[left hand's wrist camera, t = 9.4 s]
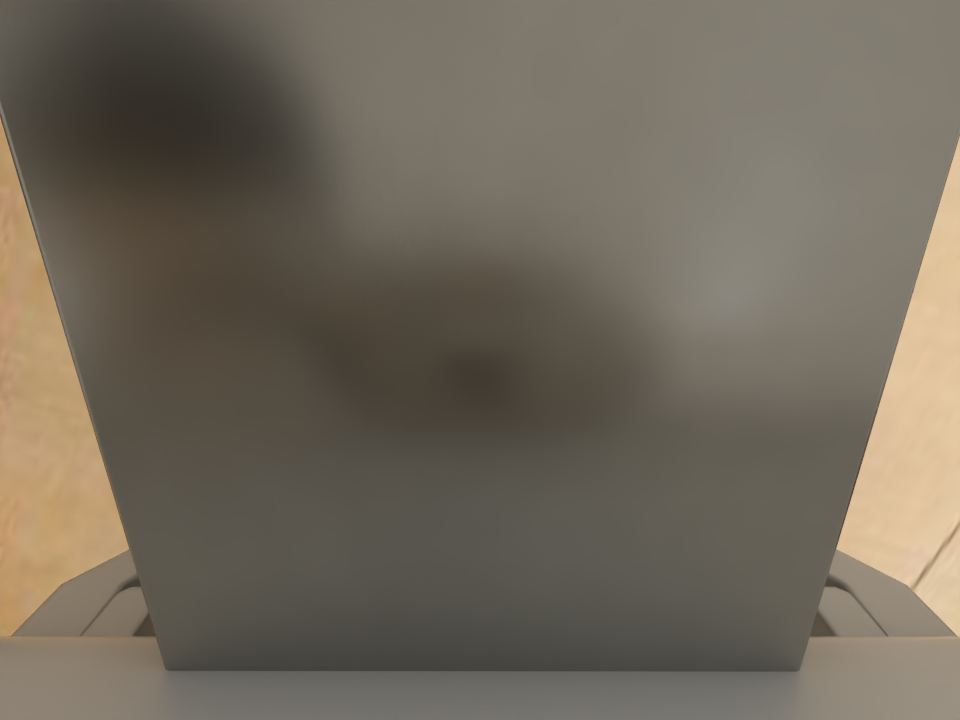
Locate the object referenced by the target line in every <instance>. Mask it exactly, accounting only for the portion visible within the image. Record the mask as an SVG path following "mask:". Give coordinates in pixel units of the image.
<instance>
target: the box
mask: <svg viewBox="0 0 960 720" xmlns="http://www.w3.org/2000/svg"><path fill="white" fill-rule="evenodd" d="M0 118H1V121H2V125H3V128H4V131H5V135H6V138H7V141H8V145H9V148H10V151H11V155H12V158H13V161H14V165H15V168H16V171H17V175H18V178H19V181H20V185H21V188H22V191H23V195H24V198H25V201H26V205H27V208H28V211H29V215H30V218H31V221H32V225H33V228H34V231H35V235H36V238H37V241H38V245H39V248H40V251H41V255H42V258H43V262H44V265H45V268H46V272H47V275H48V278H49V282H50V285H51V288H52V292H53V295H54V298H55V302H56V305H57V308H58V312H59V315H60V318H61V322H62V325H63V328H64V332H65V335H66V338H67V342H68V345H69V348H70V352H71V355H72V358H73V362H74V365H75V368H76V372H77V375H78V378H79V382H80V385H81V388H82V392H83V395H84V399H85V402H86V405H87V409H88V412H89V415H90V419H91V422H92V425H93V429H94V432H95V435H96V439H97V442H98V445H99V449H100V452H101V455H102V459H103V462H104V465H105V469H106V472H107V475H108V479H109V482H110V485H111V489H112V492H113V495H114V499H115V502H116V505H117V509H118V512H119V515H120V519H121V522H122V525H123V529H124V532H125V535H126V539H127V542H128V546H129V549H130V552H131V556H132V559H133V562H134V566H135V569H136V572H137V576H138V579H139V582H140V586H141V589H142V592H143V596H144V599H145V602H146V606H147V609H148V612H149V616H150V619H151V622H152V626H153V629H154V632H155V636H156V639H157V642H158V646H159V649H160V652H161V656H162V659H163V662H164V666H165V669H166V670H168V671H685V672H796V671H799V670H800V667H801V664H802V661H803V657H804V654H805V651H806V647H807V644H808V641H809V637H810V634H811V631H812V627H813V624H814V621H815V617H816V614H817V611H818V607H819V604H820V601H821V597H822V594H823V591H824V587H825V584H826V580H827V577H828V574H829V570H830V567H831V564H832V560H833V557H834V554H835V550H836V547H837V544H838V540H839V537H840V534H841V530H842V527H843V524H844V520H845V517H846V514H847V510H848V507H849V504H850V500H851V497H852V494H853V490H854V487H855V484H856V480H857V477H858V474H859V470H860V467H861V464H862V460H863V457H864V454H865V450H866V447H867V444H868V440H869V437H870V434H871V430H872V427H873V424H874V420H875V417H876V414H877V410H878V407H879V404H880V400H881V397H882V394H883V390H884V387H885V384H886V380H887V377H888V374H889V370H890V367H891V364H892V360H893V357H894V354H895V350H896V347H897V344H898V340H899V337H900V333H901V330H902V327H903V323H904V320H905V317H906V313H907V310H908V307H909V303H910V300H911V297H912V293H913V290H914V287H915V283H916V280H917V277H918V273H919V270H920V267H921V263H922V260H923V257H924V253H925V250H926V247H927V243H928V240H929V237H930V233H931V230H932V227H933V223H934V220H935V217H936V213H937V210H938V207H939V203H940V200H941V197H942V193H943V190H944V187H945V183H946V180H947V177H948V173H949V170H950V167H951V163H952V160H953V157H954V153H955V150H956V147H957V143H958V140H959V137H960V0H0Z"/></svg>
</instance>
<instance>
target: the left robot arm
mask: <svg viewBox="0 0 960 720" xmlns="http://www.w3.org/2000/svg"><path fill="white" fill-rule="evenodd" d="M0 720H960V637H958V636H957V635H956V634H955V633H954V632H953V631H952V630H951V629H950V628H949V627H948V626H947V625H946V624H945V623H944V622H943V621H942V620H941V619H940V618H939V617H938V616H937V615H936V614H935V613H934V612H933V611H932V610H931V609H930V608H929V607H928V606H927V605H926V604H925V603H924V602H923V601H922V600H921V599H920V598H919V597H918V596H917V595H916V594H915V593H914V592H913V591H912V590H911V589H910V588H909V587H908V586H907V585H905V584H903V583H901V582H900V581H898V580H896V579H894V578H892V577H890V576H888V575H886V574H884V573H882V572H880V571H878V570H876V569H874V568H872V567H870V566H868V565H866V564H864V563H862V562H860V561H858V560H856V559H854V558H852V557H850V556H848V555H847V554H845V553H843V552H841V551H839V550H837V549H836V550H835V554H834V557H833V560H832V564H831V567H830V570H829V574H828V577H827V580H826V584H825V587H824V591H823V594H822V597H821V601H820V604H819V607H818V611H817V614H816V617H815V621H814V624H813V627H812V631H811V634H810V637H809V641H808V644H807V647H806V651H805V654H804V657H803V661H802V664H801V667H800V670H799V671H796V672H685V671H168V670H166V669H165V666H164V662H163V659H162V656H161V652H160V649H159V646H158V642H157V639H156V636H155V632H154V629H153V626H152V622H151V619H150V616H149V612H148V609H147V606H146V602H145V599H144V596H143V592H142V589H141V586H140V582H139V579H138V576H137V572H136V569H135V566H134V562H133V559H132V556H131V552H130V550H128V551H126V552H124V553H122V554H120V555H118V556H116V557H114V558H112V559H110V560H108V561H106V562H104V563H102V564H100V565H98V566H97V567H95V568H93V569H91V570H89V571H87V572H85V573H83V574H81V575H79V576H77V577H75V578H73V579H71V580H69V581H67V582H65V583H63V584H61V585H60V587H59V588H58V589H57V590H56V591H55V592H54V593H53V594H52V595H51V596H50V597H49V598H48V599H47V600H46V601H45V602H44V603H43V604H42V605H41V606H40V607H39V608H38V609H37V610H36V611H35V612H34V613H33V614H32V615H31V616H30V617H29V618H28V619H27V620H26V621H25V622H24V623H23V624H22V625H21V626H20V627H19V628H18V629H17V630H16V631H15V632H14V633H13V634H12V635H11V636H0Z"/></svg>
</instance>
